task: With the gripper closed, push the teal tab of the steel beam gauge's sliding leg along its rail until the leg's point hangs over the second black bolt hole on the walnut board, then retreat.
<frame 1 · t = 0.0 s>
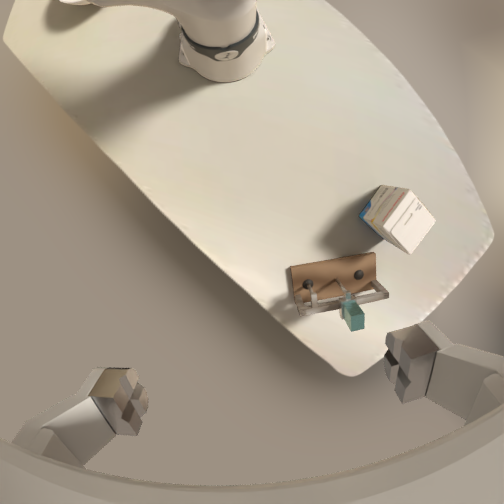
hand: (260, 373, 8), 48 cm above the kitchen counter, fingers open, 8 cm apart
sliding leg: (346, 301, 51), point 8 cm above the kitchen counter, slide at 0.0 cm
ink box: (383, 212, 55), on the kitchen counter
board: (334, 277, 59), on the kitchen counter
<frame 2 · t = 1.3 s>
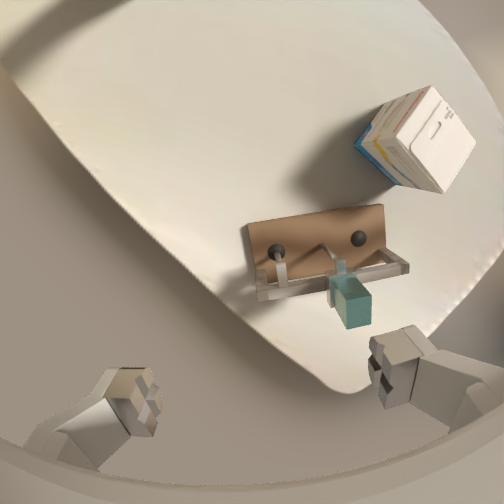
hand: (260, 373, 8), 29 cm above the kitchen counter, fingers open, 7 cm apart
sliding leg: (338, 278, 30), point 8 cm above the kitchen counter, slide at 0.0 cm
ink box: (391, 143, 34), on the kitchen counter
board: (320, 242, 38), on the kitchen counter
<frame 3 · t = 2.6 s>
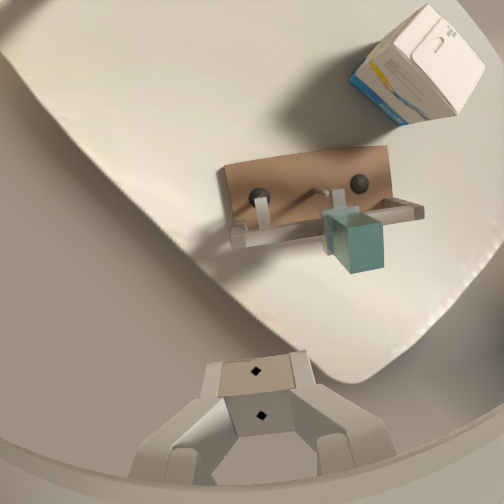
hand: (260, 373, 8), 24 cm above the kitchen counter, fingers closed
sliding leg: (336, 218, 23), point 8 cm above the kitchen counter, slide at 0.0 cm
ink box: (390, 81, 27), on the kitchen counter
board: (313, 188, 31), on the kitchen counter
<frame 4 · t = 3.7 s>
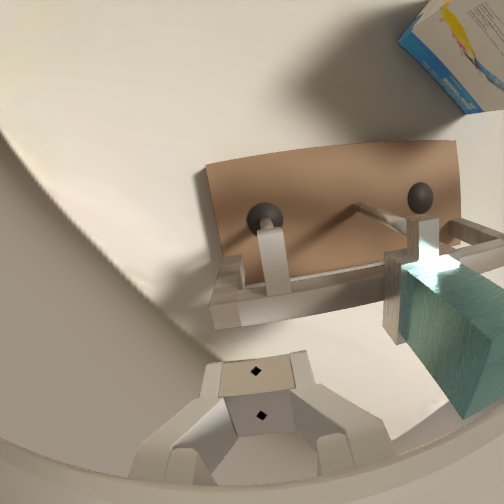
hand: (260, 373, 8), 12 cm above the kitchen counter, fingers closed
sliding leg: (412, 270, 11), point 8 cm above the kitchen counter, slide at 0.0 cm
ink box: (449, 52, 15), on the kitchen counter
board: (351, 203, 19), on the kitchen counter
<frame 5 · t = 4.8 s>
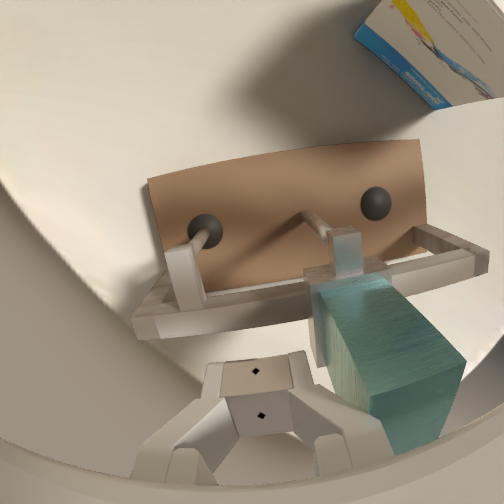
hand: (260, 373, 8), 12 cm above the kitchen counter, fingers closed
sliding leg: (341, 287, 11), point 8 cm above the kitchen counter, slide at 0.2 cm, touching gripper
ink box: (417, 44, 15), on the kitchen counter
board: (299, 211, 19), on the kitchen counter
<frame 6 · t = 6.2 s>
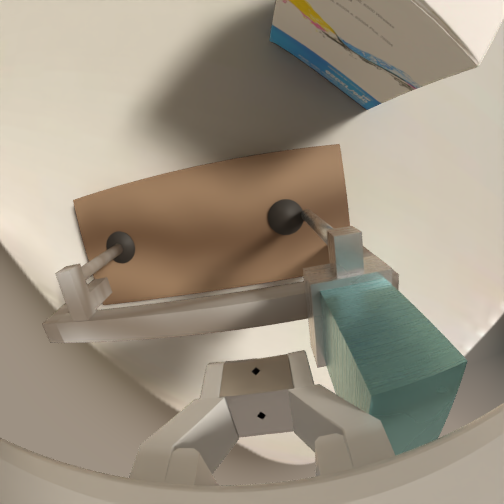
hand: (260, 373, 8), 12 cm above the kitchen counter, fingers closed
sliding leg: (341, 286, 11), point 8 cm above the kitchen counter, slide at 6.2 cm, touching gripper
ink box: (350, 38, 15), on the kitchen counter
board: (208, 226, 19), on the kitchen counter
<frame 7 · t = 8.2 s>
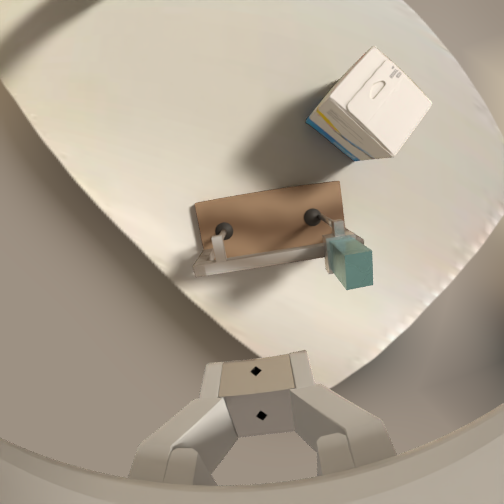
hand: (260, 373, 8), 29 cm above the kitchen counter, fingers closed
sliding leg: (337, 243, 29), point 8 cm above the kitchen counter, slide at 6.0 cm
ink box: (348, 118, 33), on the kitchen counter
board: (272, 221, 36), on the kitchen counter
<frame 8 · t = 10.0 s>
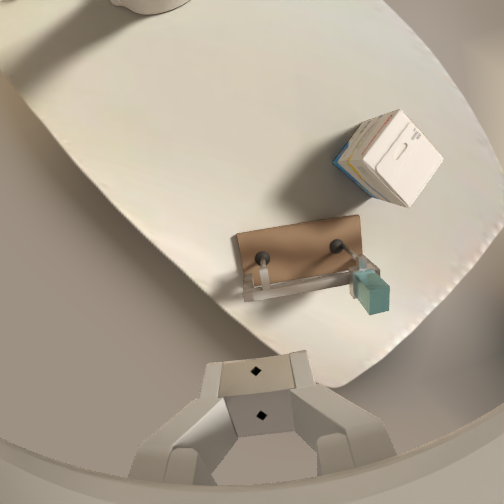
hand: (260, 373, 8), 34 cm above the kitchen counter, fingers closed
sliding leg: (359, 273, 35), point 8 cm above the kitchen counter, slide at 6.0 cm
ink box: (368, 159, 39), on the kitchen counter
board: (302, 249, 43), on the kitchen counter
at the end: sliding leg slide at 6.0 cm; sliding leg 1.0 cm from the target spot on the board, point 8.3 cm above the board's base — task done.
